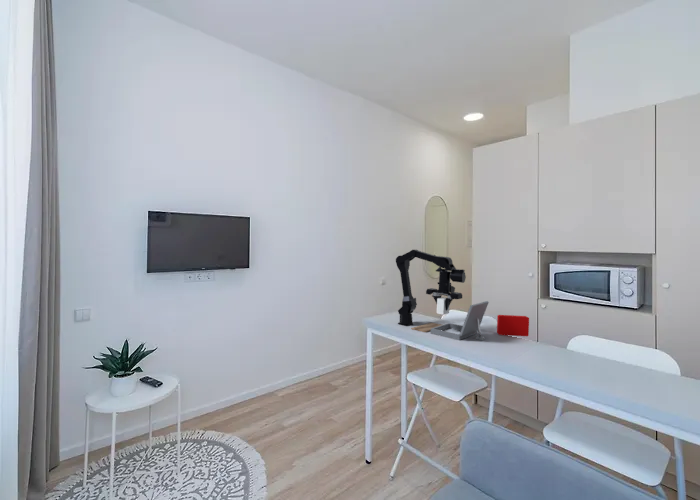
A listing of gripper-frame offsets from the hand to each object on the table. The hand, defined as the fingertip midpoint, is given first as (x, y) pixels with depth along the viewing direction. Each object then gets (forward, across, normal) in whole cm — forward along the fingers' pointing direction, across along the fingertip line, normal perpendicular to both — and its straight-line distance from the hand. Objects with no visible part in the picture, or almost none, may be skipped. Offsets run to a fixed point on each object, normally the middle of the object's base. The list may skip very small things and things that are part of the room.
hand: (442, 309), depth 184 cm
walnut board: (+12, +8, 0) cm, 14 cm away
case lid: (+1, -17, 0) cm, 17 cm away
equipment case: (+11, -11, 0) cm, 16 cm away
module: (+2, 0, 0) cm, 2 cm away
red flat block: (+11, -29, -22) cm, 38 cm away
